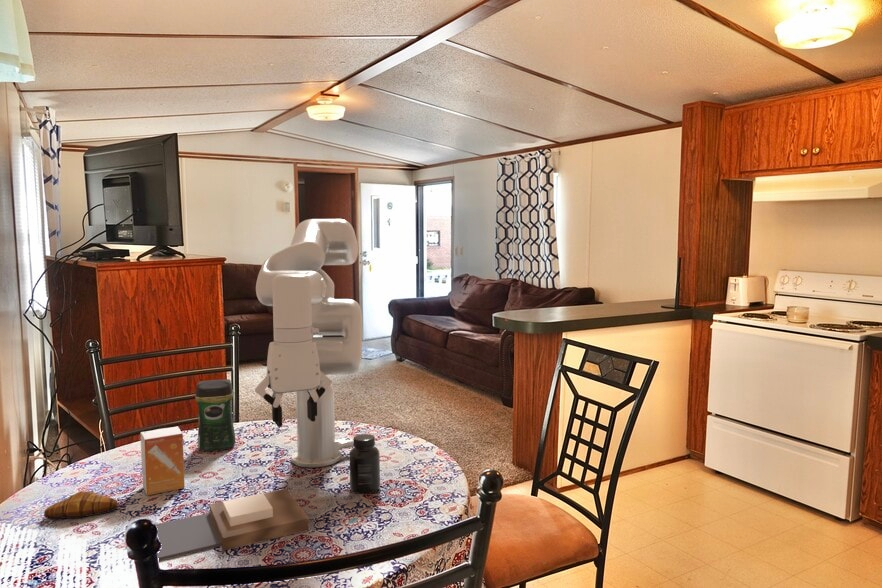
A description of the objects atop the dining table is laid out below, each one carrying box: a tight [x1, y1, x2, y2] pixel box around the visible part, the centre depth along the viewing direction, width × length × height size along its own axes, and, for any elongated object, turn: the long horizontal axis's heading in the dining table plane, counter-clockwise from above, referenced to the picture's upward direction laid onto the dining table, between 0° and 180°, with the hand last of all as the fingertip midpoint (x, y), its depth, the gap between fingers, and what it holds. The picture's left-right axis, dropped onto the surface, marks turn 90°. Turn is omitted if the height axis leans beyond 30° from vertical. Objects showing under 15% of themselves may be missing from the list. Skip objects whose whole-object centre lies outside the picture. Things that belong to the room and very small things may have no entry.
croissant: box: [43, 490, 119, 520], centre depth 125 cm, size 14×7×5 cm, turn 107°
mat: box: [155, 512, 222, 562], centre depth 116 cm, size 12×14×1 cm
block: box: [222, 493, 273, 527], centre depth 120 cm, size 8×8×2 cm
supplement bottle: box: [348, 433, 381, 495], centre depth 138 cm, size 7×7×12 cm
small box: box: [139, 426, 185, 497], centre depth 138 cm, size 8×6×13 cm
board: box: [208, 488, 310, 552], centre depth 122 cm, size 16×16×2 cm
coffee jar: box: [195, 378, 236, 452], centre depth 164 cm, size 10×8×19 cm
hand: (295, 421), depth 124 cm, fingers open, 6 cm apart
